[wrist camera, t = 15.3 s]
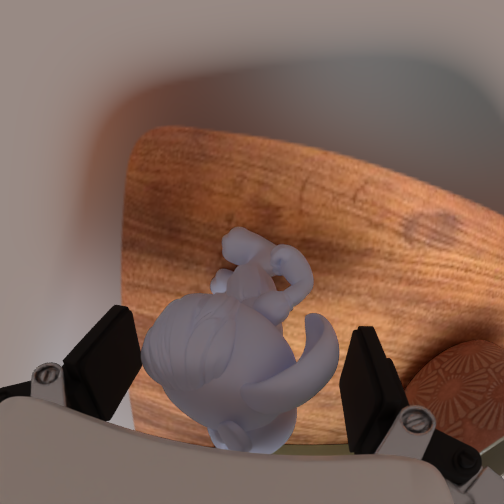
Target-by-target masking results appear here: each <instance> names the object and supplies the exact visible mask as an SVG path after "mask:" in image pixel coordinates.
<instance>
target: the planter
mask: <svg viewBox="0 0 504 504" xmlns="http://www.w3.org/2000/svg"><path fill="white" fill-rule="evenodd" d="M405 394H406V397H407V399H408V402H409V405H420V406H423V407H425V408H427V409H429V410H430V411H431V412H432V413H433V415H434V416H435V419H436V427H435V428H436V429H438V430H439V431H441V432H443V433H445V434H447V435H449V436H451V437H453V438H455V439H457V440H459V441H461V442H463V443H465V444H467V445H470V446H472V447H473V448H475V449H476V450H477V451H478V452H479V453H480V456H481V458H482V466H483V467H484V468H485V467H486V466H488V467H490V468H491V469H492V470H493V471H494V472H496V473H497V474H498V475H499V476H500V477H502V476H503V475H504V350H503V349H502V348H500V347H499V346H497V345H496V344H494V343H492V342H489V341H485V340H471V341H467V342H464V343H461V344H458V345H455V346H453V347H451V348H449V349H447V350H445V351H444V352H442V353H441V354H439V355H438V356H436V357H435V358H434V359H432V360H431V361H430V362H429V363H427V364H426V365H425V366H424V367H423V368H422V369H421V370H420V371H419V372H418V373H417V374H416V375H415V377H414V378H413V379H412V380H411V382H410V383H409V384H408V386H407V388H406V389H405Z"/></svg>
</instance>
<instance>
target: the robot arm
mask: <svg viewBox="0 0 504 504" xmlns="http://www.w3.org/2000/svg"><path fill="white" fill-rule="evenodd" d="M63 362H64V365H63V366H62V367H61V366H60V365H59V364H57V363H52V362H51V363H45V364H42V365H40V366H38V367H37V368H36V369H35V370H34V372H33V374H32V379H31V381H27V382H23V383H19V384H15V385H11V386H7V387H2V388H0V504H504V479H503V478H502V477H500V476H499V475H498V474H497V473H496V472H494V471H493V470H492V469H491V468H490V467H488V466H486V467H485V468H484V467H483V466H482V458H481V456H480V453H479V452H478V451H477V450H476V449H475V448H473V447H472V446H470V445H467V444H465V443H463V442H461V441H459V440H457V439H455V438H453V437H451V436H449V435H447V434H445V433H443V432H441V431H439V430H438V429H436V428H435V427H436V419H435V416H434V415H433V413H432V412H431V411H430V410H429V409H427V408H425V407H423V406H420V405H409V402H408V399H407V397H406V394H405V391H404V389H403V386H402V384H401V381H400V379H399V376H398V374H397V371H396V369H395V366H394V364H393V361H392V360H391V359H390V358H386V356H385V353H384V351H383V348H382V346H381V343H380V341H379V339H378V336H377V334H376V331H375V329H374V327H373V326H359V327H358V329H357V330H354V331H353V333H352V337H351V341H350V345H349V349H348V352H347V356H346V360H345V363H344V367H343V370H342V374H341V377H340V383H339V387H340V393H341V399H342V405H343V411H344V418H345V425H346V431H347V438H348V446H349V451H350V453H352V452H354V455H332V456H307V455H276V454H262V453H250V452H241V451H233V450H225V449H218V448H211V447H205V446H199V445H194V444H189V443H184V442H179V441H174V440H170V439H165V438H161V437H157V436H153V435H149V434H145V433H142V432H138V431H135V430H131V429H127V428H124V427H121V426H118V425H115V424H112V423H109V422H106V421H109V420H110V419H111V418H112V416H113V414H114V413H115V411H116V409H117V408H118V406H119V404H120V402H121V401H122V399H123V397H124V396H125V394H126V392H127V390H128V389H129V387H130V385H131V384H132V382H133V380H134V379H135V377H136V375H137V374H138V372H139V370H140V369H141V367H142V361H141V351H140V346H139V342H138V338H137V333H136V328H135V323H134V319H133V314H132V311H130V310H129V308H128V307H126V306H120V305H114V306H113V307H112V308H111V309H110V310H109V311H108V312H107V313H106V314H105V315H104V316H103V317H102V318H101V320H100V321H98V322H97V324H96V325H95V326H94V327H93V328H92V329H91V330H90V331H89V332H88V333H87V334H86V335H85V336H84V338H83V339H82V340H81V341H80V342H79V343H78V344H77V345H76V346H75V347H74V349H73V350H72V351H71V352H70V353H69V354H68V355H67V356H66V358H65V359H64V360H63Z"/></svg>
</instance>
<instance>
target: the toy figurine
mask: <svg viewBox="0 0 504 504" xmlns="http://www.w3.org/2000/svg"><path fill="white" fill-rule="evenodd" d="M222 247H223V249H222V254H223V257H224V258H225V259H226V260H227V261H229V262H231V263H233V264H236V265H239V266H238V267H237V268H236V269H235V271H234V272H233V271H231V270H228V269H219V270H218V271H217V273H216V277H214V278H213V279H212V281H211V284H210V289H211V291H212V293H213V294H203V293H193V294H188V295H185V296H183V297H182V298H181V299H176V300H174V301H172V302H171V303H170V304H169V305H168V306H167V307H166V308H165V309H164V310H163V312H162V313H161V314H160V316H159V317H158V318H157V319H156V321H155V323H154V325H153V326H152V327H151V328H150V329H149V330H148V332H147V334H146V337H145V340H144V343H143V347H142V350H141V361H142V364H143V367H144V369H145V371H146V372H147V373H148V375H149V376H150V377H151V378H152V379H153V380H154V381H156V382H157V383H159V384H160V385H162V387H163V389H164V391H165V393H166V394H167V396H168V397H169V399H170V400H171V401H172V402H173V403H174V404H175V405H176V406H177V407H178V408H179V409H180V410H181V411H182V412H184V413H185V414H186V415H187V416H189V417H190V418H192V419H193V420H195V421H196V422H198V423H200V424H201V425H203V426H206V427H207V429H208V432H209V435H210V437H211V440H212V442H213V444H214V445H215V447H216V448H218V449H225V450H233V451H241V452H250V453H262V454H272V453H274V452H275V451H276V450H278V449H279V448H280V447H281V446H282V445H283V444H284V443H285V442H286V441H287V440H288V439H289V437H290V436H291V434H292V432H293V430H294V427H295V424H296V418H297V407H299V406H300V405H302V404H304V403H305V402H307V401H308V400H310V399H311V398H312V397H313V396H315V395H316V394H317V393H318V392H319V391H320V390H321V389H322V388H323V387H324V386H325V385H326V384H327V383H328V382H329V380H330V379H331V378H332V376H333V374H334V373H335V371H336V368H337V365H338V361H339V344H338V339H337V336H336V333H335V331H334V329H333V327H332V325H331V324H330V322H329V321H328V320H327V319H326V318H325V317H323V316H322V315H320V314H317V313H311V314H308V315H306V316H305V330H306V345H305V349H304V352H303V354H302V356H301V358H300V359H299V360H298V362H297V363H296V360H295V357H294V354H293V352H292V350H291V348H290V346H289V345H288V343H287V341H286V340H285V339H284V337H283V328H282V322H283V321H284V320H285V319H286V318H287V317H288V315H289V312H290V311H292V310H293V307H294V306H296V305H297V304H299V303H300V302H301V301H302V300H303V299H304V298H305V297H306V296H307V295H308V294H309V293H310V292H311V290H312V288H313V285H314V279H313V274H312V270H311V268H310V265H309V263H308V262H307V260H306V258H305V257H304V256H303V254H302V253H301V252H300V251H299V250H297V249H296V248H294V247H293V246H290V245H285V244H280V245H275V244H273V243H272V242H270V241H268V240H267V239H265V238H263V237H262V236H260V235H258V234H256V233H253V232H251V231H249V230H247V229H246V228H244V227H234V228H233V229H231V230H230V232H229V233H228V234H226V235H224V236H223V238H222ZM275 275H279V276H282V275H283V276H284V277H285V278H286V280H287V281H288V282H289V283H290V284H291V286H289V287H288V288H287V289H285V290H284V291H277V290H276V287H275V284H274V282H273V280H272V278H271V277H272V276H275Z"/></svg>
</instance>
